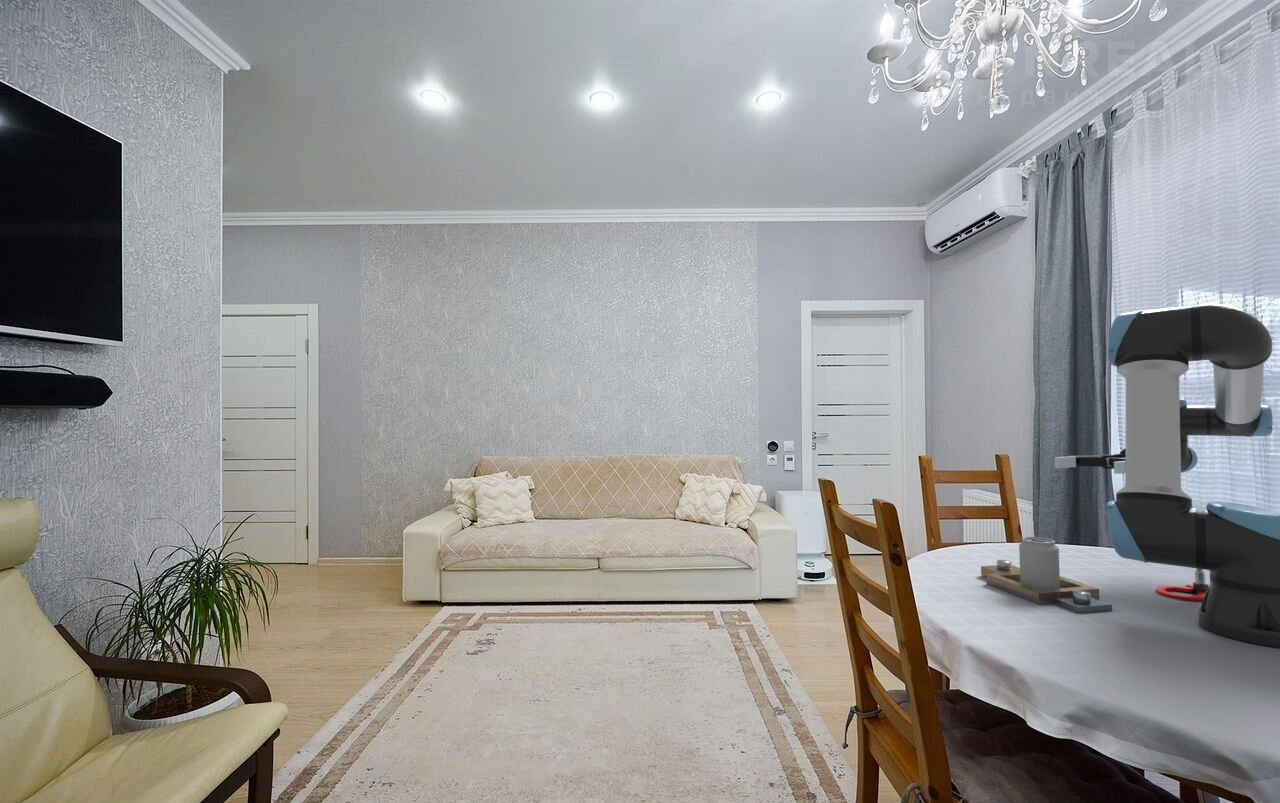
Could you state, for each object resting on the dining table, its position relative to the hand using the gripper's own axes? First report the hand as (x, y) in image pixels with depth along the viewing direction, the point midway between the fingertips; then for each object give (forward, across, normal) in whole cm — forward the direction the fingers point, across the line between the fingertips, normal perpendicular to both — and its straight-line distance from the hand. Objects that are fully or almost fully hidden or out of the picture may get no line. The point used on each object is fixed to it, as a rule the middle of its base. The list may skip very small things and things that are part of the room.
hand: (1084, 465), depth 138 cm
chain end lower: (+18, -4, -28) cm, 33 cm away
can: (+17, -1, -28) cm, 33 cm away
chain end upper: (+17, +2, -28) cm, 33 cm away
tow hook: (-9, -14, -28) cm, 33 cm away
